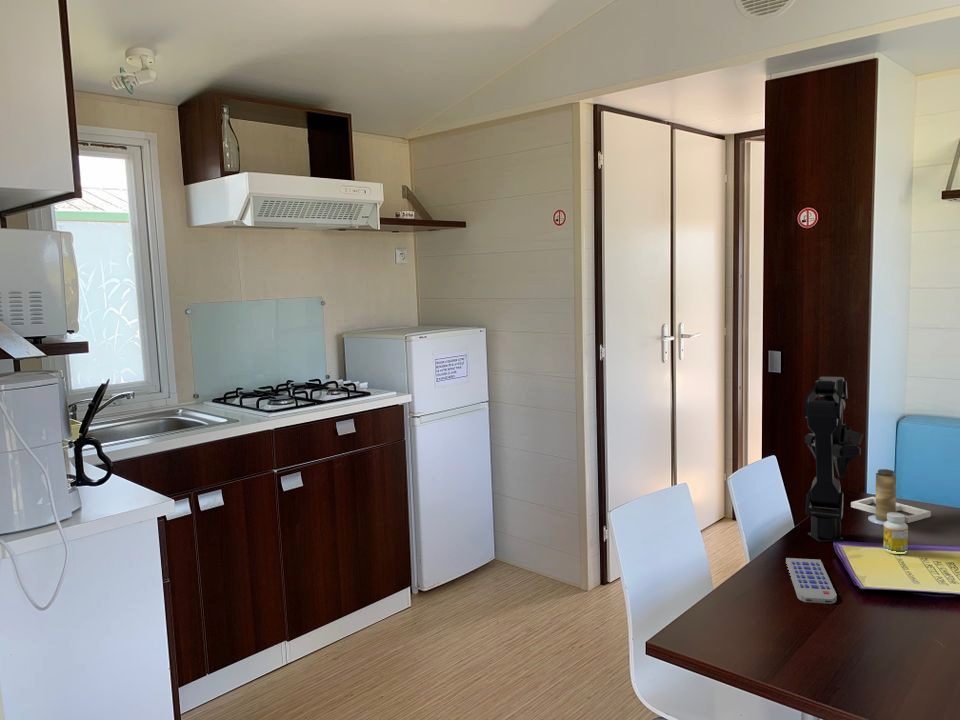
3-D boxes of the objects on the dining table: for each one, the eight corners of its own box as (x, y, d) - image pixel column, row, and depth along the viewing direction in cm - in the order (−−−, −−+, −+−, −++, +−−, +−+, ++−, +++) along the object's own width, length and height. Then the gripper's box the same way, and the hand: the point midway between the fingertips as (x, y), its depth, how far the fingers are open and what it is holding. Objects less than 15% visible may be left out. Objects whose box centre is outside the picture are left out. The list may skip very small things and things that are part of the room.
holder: (908, 523, 208) (908, 517, 208) (851, 507, 224) (851, 502, 224) (930, 516, 212) (930, 511, 212) (873, 501, 229) (873, 496, 228)
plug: (883, 522, 208) (883, 473, 207) (871, 517, 213) (871, 469, 212) (899, 521, 209) (900, 472, 207) (887, 515, 214) (888, 468, 212)
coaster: (881, 527, 206) (881, 525, 206) (861, 517, 215) (861, 515, 215) (911, 524, 207) (911, 523, 207) (890, 514, 216) (890, 513, 216)
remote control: (820, 567, 182) (820, 558, 182) (838, 606, 160) (838, 596, 160) (785, 565, 184) (785, 556, 184) (798, 603, 163) (798, 593, 162)
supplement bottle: (909, 556, 185) (910, 518, 184) (885, 554, 187) (885, 517, 186) (905, 548, 190) (905, 512, 189) (881, 546, 192) (882, 510, 191)
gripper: (878, 424, 205) (878, 479, 206) (838, 412, 223) (838, 463, 225) (840, 427, 203) (840, 482, 205) (803, 415, 222) (803, 466, 223)
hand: (831, 473), depth 215 cm, fingers open, 9 cm apart
